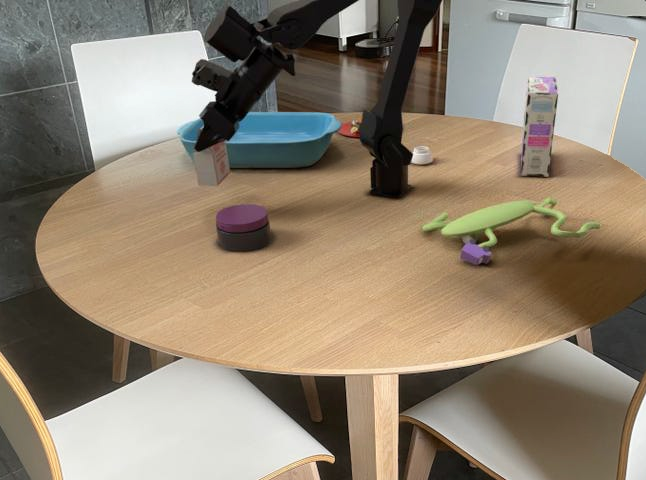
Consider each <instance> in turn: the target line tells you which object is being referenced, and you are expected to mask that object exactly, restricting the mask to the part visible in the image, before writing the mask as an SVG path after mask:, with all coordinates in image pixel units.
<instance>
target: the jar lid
mask: <svg viewBox="0 0 646 480" xmlns="http://www.w3.org/2000/svg"><path fill="white" fill-rule="evenodd" d="M268 219H269V214H268V210H267V208H265V206H262V205H259V204H253V203H241V204H234V205H230V206H227V207H223V208H222V209H220V210H219V211H218V212H216V214H215V225H216V224H217V226H218V228H219V229H221V230H223V231H227V232H237V233H238V232H248V231H253V230H256V229H259V228H261V227H263V226H264V225H266V224H267V222H268Z"/></svg>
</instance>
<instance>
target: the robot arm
mask: <svg viewBox="0 0 646 480" xmlns="http://www.w3.org/2000/svg"><path fill="white" fill-rule="evenodd" d="M359 1H360V0H295V1H292V2H289V3H286V4H282V5H281V6H278V7H275V8H274V9H273V10H271V11H269V13H268V15H267V17H265V18H262V19H260V20H257V21H253V22H249V21H248V20H247V19H246V18H244V17H243V16H242V15H241V14H240V13H239V12H238V10H236V9H235V8H234V7H232V6H231V5H229V4H226V5H225V6H224V8H223V9H222V11H220V12H219V13H218V14H217V15H216V16H215V17H214V19H212V20H210V23H209V24H208V26H207V28H206V30H205V33H204V35H203V41H204V43H206V44H207V45H208V46H210V47H211V48H213V49H214V50H216V51H217V52H218V53H219V54H221V55H222V56H223V57H224V58H226V59H227V60H229V61H230V62H231V63H237V62H238V61H241V62H242V63H241V65H239V66H237V67H236V68H235V69H234V70H233V71H231V70H230V69H227V68H225V67H224V66H222V65H218V64H216V63H214V62H212V61H210V60H207V59H203V58H200V59H199V60H198V61H197V62H196V63H195V66H194V70H193V71H192V73H191V75H192V77H191V83H192V84H193V85H196V86H201V87H203V88H206V89H208V90H210V91H213V92H216V93H215V95H214V98H215V101H214V100H213V101H209V102H208V103H207V104H206V105H205V107H204V108H203V109H202V111H201V112H200V113H199V115H198V116H199V119H200V118H201V119H202V120H203V123H204V127H203V129H202V131H201V134H200V136H199V138H198V140H197V142H196V145H195V147H194V149H195V150H196V151H197V152H201V151H203V150H205V149H207V148H209V147H211V146H213V145H216V144H218V143H220V142H223V141H225V140H227V141H229V140H230V139H231V138H232V137H233V136H234V134H235V133H236V132H237V130H238V129H239V122H240V121H242V120H243V119H244V118H245V117H246V115H247V114H248V113H249V112H251V111H252V110H253V108H254V106H255V105H256V104H257V102H259V101H260V99H261V98H262V97H263V95H264V94H265V93H266V92H267V90H268V89H269V88H270V87H271V86H272V84H273V83H274V82H275V80H276V79H277V78H278V77H279V76H280V74H281V73H282V71H285V72H286V73H287V74H288V75H290V76H291V77H295V76H296V70H295V69H296V67H295V63H296V58H295V54H294V53H284V52H283V51H281V50H280V49H279V48H278V47H277V46H275V45H274V44H277V45H279V46H281V47H283V48H284V49H288V50H291V51H294V50H298V49H301V48H302V47H303V46H304V45H305V44H306V43H307V42H308V41H310V40H311V39H312V38H313V37H314V36H315V35H316V34H317V33H318V32H319V30H320V29H321V27H322V26H323V25H324V24H325V23H326V22H327V21H328V20H330V19H331V18H333V17H334V16H336V15H338V14H339V13H341V12H343V11H344V10H346V9H348V8H349V7H350V6H352V5H354V4H355V3H357V2H359ZM396 3H397V14H398V24H397V28H396V31H395V35H394V39H393V42H392V47H391V50H390V54H389V58H388V61H387V65H386V68H385V72H384V75H383V80H382V83H381V86H380V90H379V95H378V98H377V102H376V103H375V105H373V107H372V108H371V109H370V110H367V109H363V111H362V113H363V114H362V122H361V124H360V126H359V128H358V131H359V132H360V137H359V141H360V143H361V145H362V147H364V148H365V149H366V150H367V151H368V153H369V155H370V157H372V158H374V159H373V160H371V167H370V168H369V175H370V176H369V177H370V178H369V179H370V188H371V189H370V190H369V191H368V194H369V195H373V196H380V197H385V198H386V197H387V198H392V199H399V198H401V197H403V196H404V195H405V194H406V193H407V192H408V191H409V190H411V189H412V184H409V166H410V165H411V163H412V162H411V161H412V157H413V153H412V152H413V151H411V150H409V148H408V147H406V146H405V145H404V144H403V143H402V142H403V141H402V140H403V134H404V133H403V132H404V122H403V107H404V103H405V99H406V96H407V93H408V89H409V84H410V83H411V78H412V75H413V71H414V68H415V65H416V62H417V58H418V54H419V50H420V47H421V43H422V40H423V37H424V33H425V30H426V28H427V27H428V26H429V24H430V23H431V22H432V21H433V19H434V18H435V17H436V15H437V13H438V11H439V10H440V7H441V5H442V3H443V0H397V2H396ZM259 38H260V39H262V40H263V41H265V42H267V43H269V44H266V43H264V42H263V41H261V40H260V39H259Z"/></svg>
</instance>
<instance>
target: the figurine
mask: <svg viewBox="0 0 646 480" xmlns="http://www.w3.org/2000/svg"><path fill="white" fill-rule="evenodd" d="M557 203H558V201H557V198H555V197H552V196H549V197H546V198H545V199H544V200H543V201H542V203H540V204H539V205H537V203H536V202H535V201H533V200H526V199H522V200H516V201H514V200H513V201H508V202H503V203H499V204H494V205H491V206H487V207H485V208H482V209H481V208H480V209H478V210H476V211H475V210H474V211H473V212H471V213H467V214H466V215H462V216H460V217H458V218H456V219H455V220H447V219H448V218H449V214H448V213H447V212H446V211H444V212H442V213H441V214H440V215H439V216H437V217H436V218H434V219H432V220H431V221H429V222H427V223H426V224H424V225H423V226H422V231H423V232H424V233H428V232H431V231H435V230H437V229H441V230H440V231H441V233H440V234H441V235H442V236H444V237H454V238H458V239H461V240H462V242H463V244H464V245H463V247H462V248H461V251H460V257H459V258H460V259H461V260H463V261H464V262H465V261H466V262H468V263H470V264H472V265H474V266H479V265H480V264H488V263H489V261H490V259H491V256H492V252H491V251H490V247H494V246H495V245H496V244H497V243H498V239H497V237H496V235H495V233H494V232H493V230H494V231H497V232H501V233H504V231H503V230H501V229H497V228H500V227H503V226H506V225H508V224H511V223H513V222H515V221H518V220H520V219H522V218H523V217H526V216H527V215H529V214H531V213H535V214H540V215H545V216H546V217H547V216H550V217H553V218H556V219H558V220H555V222H554V223H553V224H552V225H551V227H550V232H551V234H552V235H553V236H556V237H558V238H559V237H561V238H574V239H575V238H577V239H578V238H581V237H583V236H585V235H586V234H588V231H590V230H595V229H600V227H601V224H600V222H599V221H588V222H586V223H584V224H583V225H581V227H580V229H579V230H578V231H576V232H575V231H564V230H560V228H561V227H562V226H563V225H564V224H565V223H566V222H567V220H568V216H567V215H566V214H565V213H563V211H560V210H558V209H554V207H555V206H556V205H557ZM548 204H549V205H550V206H549V207H547V206H546V205H548ZM483 232H484V233H485V235H486V236H487V238H488V239H489V240H488V241H485V242H482V243H478V244H476V243H477V239H478V237H479V235H480V233H483Z"/></svg>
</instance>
